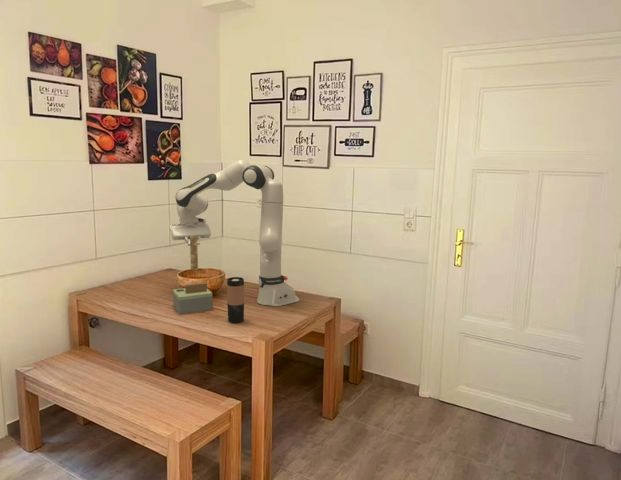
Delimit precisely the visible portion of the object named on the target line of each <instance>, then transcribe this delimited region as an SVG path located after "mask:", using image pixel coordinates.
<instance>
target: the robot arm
mask: <svg viewBox="0 0 621 480" xmlns="http://www.w3.org/2000/svg"><path fill="white" fill-rule="evenodd" d="M243 182H244V183H245V185H246V186H249V187H250V188H253V189H255V190H260V192H261V211H260V223H259V224H260V225H259V235H258V236H259V238H258V240H259V241H258V243H259V247H260V251H259V252H260V253H259V254H260V255H259V275H258V286H259V287H258V288H259V289H258V295H257V296H258V297H257V299H256V303H258V304H260V305H263V306H272V307H280V306H281V307H282V306H286V305H289V304H290V305H291V304H295V303H299V302H300V297H298V296H297V295H296V292H295V289H294V287H293V286H291V285H289V284H288V282H287V281H288V279H289V278H288V276H285V275H283V274H282V231H283V230H282V229H283V213H284V188H283V183H282V182H281V181H279V180H276V179H275V173H274V170H273V169H272V168H271V167H269V166H267V165H260V164H253V165H250V163H249V162H248V160H245V159H237V160H236V161H234V162H232V163H230V164H229V165H227V166H226V167H225V168H224V169H221V170H220V171H218V172H214V173H210V174H207V175H205V176H203V177H202V178H199V179H198V180H196V181H195V182H193V183H192V184H190V185H187V186H185V187H182V188H180V189H179V190H177V192H176V193H175V202H176V210H177V215H178V217H179V223H177V224H175V223H174V224H172V225H170V226H169V230H170V232H171V238H172V240H173V241H183V240H184V242H185V243H186V244H187V246H189V247H190V246H191V241H190V237H191V236H196V237H197V246H200V242H201V241H200V240H201V239H210V237H211V235H212V231H211V228H210V226H209V224H208V223H207V220H206V219H205V218H201V217H197V216H200V215H201V214H203V213H204V212H205V211H206V210H207V209H208V206H209V201H208V198H207V197H205V196H204V195H202V194H200V193H203V192H204V191H206V190H210V189H215V190H221V191H231V190H234V189H235V188H237V187H238V186H240V185H241V184H242V183H243ZM285 281H286V282H285Z"/></svg>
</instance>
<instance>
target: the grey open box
mask: <svg viewBox="0 0 621 480" xmlns="http://www.w3.org/2000/svg"><path fill="white" fill-rule="evenodd" d="M213 301H214V299H213V295H212V296H209V297H201V298H193V299H186V300H179V299H178V298H177V297H176V296H175V295H174V293H173V292H172V303H173V304H172V306H173V308H174V309H175V311H176V312H177V313H178V314H179V315H186V314H193V313H200V312H207V311H209V312H210V311H213V310H214V309H213V308H214V306H213V305H214V304H213Z"/></svg>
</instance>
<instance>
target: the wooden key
mask: <svg viewBox="0 0 621 480" xmlns="http://www.w3.org/2000/svg"><path fill="white" fill-rule="evenodd" d="M189 241H191V246H189V250H190V255H189V256H190V270H191V271H197V270H199V265H198V264H199V259H198V257H199V256H198V252H199V251H198V245H197V241H198V240H197V237H196V236H191V237H190V239H189Z"/></svg>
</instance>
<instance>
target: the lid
mask: <svg viewBox="0 0 621 480" xmlns="http://www.w3.org/2000/svg"><path fill="white" fill-rule="evenodd" d="M173 293H174V295H175V296H176V297H177V298H178V299H179V300H186V299H193V298H201V297H209V296H212V297H213V292H212V291H211V290H210V289H208V284H207V282H196V283H187V284H186V283H185V284H184V288H176V289H175V288H174V289H172V294H173Z"/></svg>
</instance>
